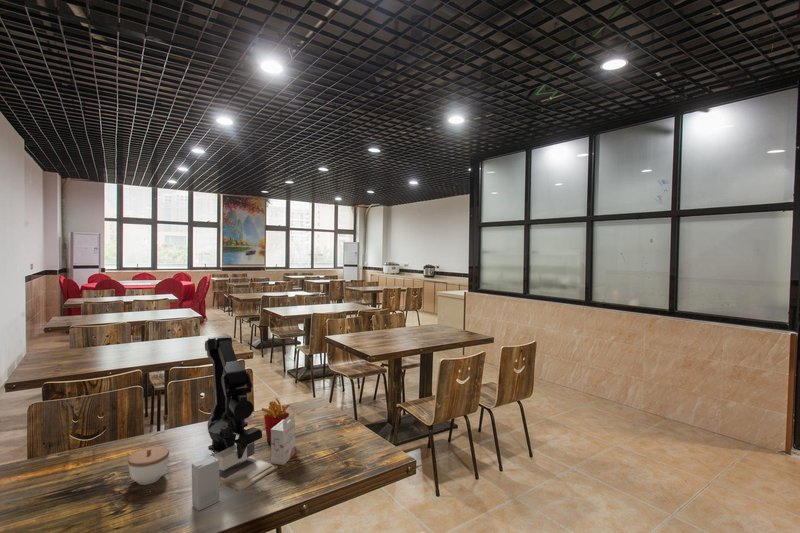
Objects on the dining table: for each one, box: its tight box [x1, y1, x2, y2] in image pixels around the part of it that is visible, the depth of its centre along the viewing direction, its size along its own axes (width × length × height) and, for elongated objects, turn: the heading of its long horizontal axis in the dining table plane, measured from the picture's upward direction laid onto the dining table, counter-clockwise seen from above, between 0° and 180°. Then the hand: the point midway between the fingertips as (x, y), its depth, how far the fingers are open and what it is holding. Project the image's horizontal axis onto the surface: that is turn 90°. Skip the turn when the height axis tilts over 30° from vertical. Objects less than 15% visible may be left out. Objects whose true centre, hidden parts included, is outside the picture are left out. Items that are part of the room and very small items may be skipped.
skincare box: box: [191, 455, 221, 512], centre depth 114 cm, size 6×4×12 cm
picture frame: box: [219, 456, 279, 492], centre depth 132 cm, size 20×15×1 cm
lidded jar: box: [127, 446, 170, 486], centre depth 126 cm, size 11×11×9 cm
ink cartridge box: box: [270, 412, 296, 466], centre depth 139 cm, size 9×5×15 cm, turn 168°
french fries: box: [260, 397, 291, 443], centre depth 153 cm, size 9×8×15 cm
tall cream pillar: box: [214, 442, 255, 470], centre depth 132 cm, size 4×12×4 cm, turn 151°
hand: (235, 456), depth 132 cm, fingers closed on tall cream pillar, 4 cm apart
